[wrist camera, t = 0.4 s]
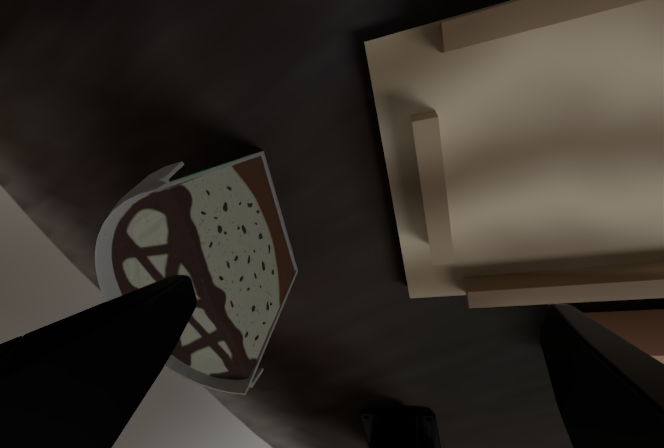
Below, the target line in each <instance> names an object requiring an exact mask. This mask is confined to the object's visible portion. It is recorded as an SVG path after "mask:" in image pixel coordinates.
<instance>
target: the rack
mask: <svg viewBox="0 0 664 448" xmlns="http://www.w3.org/2000/svg"><path fill="white" fill-rule="evenodd" d="M364 44H365V49H366V55H367V60H368V66H369V72H370V77H371V83H372V88H373V94H374V100H375V105H376V111H377V116H378V122H379V127H380V133H381V139H382V144H383V150H384V155H385V161H386V167H387V172H388V178H389V183H390V189H391V195H392V200H393V206H394V211H395V217H396V223H397V228H398V234H399V239H400V245H401V251H402V256H403V262H404V267H405V273H406V279H407V284H408V290H409V295H410V298H423V297H439V296H455V295H466V297H467V301H468V305H469V308H482V307H501V306H520V305H540V304H551V303H554V304H559V303H578V302H597V301H616V300H635V299H654V298H664V0H510V1H507V2H503V3H500V4H496V5H493V6H489V7H486V8H482V9H479V10H475V11H472V12H468V13H465V14H461V15H458V16H454V17H451V18H447V19H444V20H440V21H437V22H433V23H430V24H426V25H423V26H419V27H416V28H412V29H409V30H405V31H401V32H398V33H394V34H391V35H387V36H384V37H380V38H377V39H373V40H370V41H366V42H364Z"/></svg>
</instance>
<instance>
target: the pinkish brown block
mask: <svg viewBox="0 0 664 448" xmlns="http://www.w3.org/2000/svg"><path fill="white" fill-rule="evenodd" d="M584 314H586V315H587V316H589V317H590V318H592V319H593V320H595V321H597V322H598V323H600V324H601V325H603V326H605V327H606V328H608V329H609V330H611V331H612V332H614V333H616V334H617V335H619V336H620V337H622V338H624V339H625V340H627V341H628V342H630V343H631V344H633V345H635V346H636V347H638V348H639V349H641V350H642V351H644V352H646V353H647V354H649V355H650V356H652V357H654V358H655V359H657V360H658V361H660V362H661V363H663V364H664V309H657V310H635V311H613V312H591V313H584Z"/></svg>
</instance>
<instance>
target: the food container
mask: <svg viewBox="0 0 664 448" xmlns="http://www.w3.org/2000/svg"><path fill="white" fill-rule="evenodd" d="M183 165H184V163H183V162H178V163H175V164H171V165H168V166H165V167H163V168H161V169H159V170H157V171H155V172H153V173H151V174H150V175H148V176H147V177H146V178H145V179H144V180H142V181H141V182H140V183H139V184H138V185H137V186H135V187H134V188H133V189H132V190H131V191H129V192H128V193H127V194H126V195H125V196H124V197H122V198H121V199H120V200H119V201H118V203H117V204H116V205H115V207H114V208H113V209H112V211H111V212H110V214H109V216H108V218H107V219H106V220H105V222H104V223H103V225H102V228H101V230H100V232H99V235H98V238H97V243H96V248H95V268H96V274H97V279H98V283H99V286H100V289H101V292H102V295H103V297H104V299H105V301H106V302H107V301H109V300H112V299H114V298H117V297H119V296H122V295H124V294H127V293H129V292H132V291H134V290H137V289H139V288H142V287H144V286H147V285H149V284H152V283H154V282H157V281H159V280H162V279H164V278H167V277H169V276H172V275H176V274H177V275H187V276H189V277H190V278H191V280H192V283H193V287H194V291H195V294H196V298H197V305H196V308H195V310H194V312H193V314H192V316H191V318H190V320H189V322H188V324H187V326H186V328H185V330H184V332H183V333H182V335H181V337H180V339H179V341H178V343H177V345H176V347H175V349H174V351H173V352H172V354H171V356H170V358H169V359H168V361H167V363H166V364H165V366H164V367H166V368H167V369H169V370H170V371H172V372H174V373H176V374H178V375H179V376H181V377H183V378H185V379H187V380H190V381H192V382H194V383H196V384H199V385H201V386H205V387H208V388H211V389H214V390H218V391H222V392H227V393H233V394H242V395H246V393H247V391H248V389H249V387H250V388H252V387H253V385H254V384H255V382H256V381H257V379H258V378H259V376H260V375H261V373H262V372H263V368H259V367H258V366H259V363H260V361H261V359H262V356H263V354H264V351H265V349H266V347H267V344H268V342H269V339H270V337H271V335H272V332H273V330H274V327H275V325H276V323H277V320H278V318H279V316H280V313H281V311H282V308H283V306H284V304H285V301H286V299H287V296H288V294H289V292H290V289H291V287H292V284H293V282H294V280H295V277H296V275H297V272H298V269H297V266H296V262H295V259H294V256H293V252H292V249H291V245H290V242H289V238H288V235H287V231H286V228H285V224H284V221H283V217H282V214H281V210H280V207H279V203H278V200H277V196H276V193H275V189H274V186H273V182H272V179H271V175H270V172H269V168H268V165H267V161H266V158H265V154H264V151H261V152H258V153H254V154H250V155H247V156H244V157H241V158H238V159H235V160H232V161H229V162H226V163H223V164H220V165H217V166H214V167H211V168H208V169H205V170H202V171H199V172H196V173H193V174H190V175H187V176H184V177H181V178H178V179H175V180H172V181H169V180H168V179H170V178H171V177H172V176H173V175H174V174H175V173H176V172H177V171H178V170H179V169H180V168H181V167H182V166H183Z"/></svg>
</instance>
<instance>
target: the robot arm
mask: <svg viewBox="0 0 664 448" xmlns="http://www.w3.org/2000/svg"><path fill="white" fill-rule="evenodd" d="M196 305H197V298H196V294H195V291H194V287H193V283H192V280H191V278H190V277H189V276H187V275H177V274H176V275H172V276H169V277H167V278H164V279H162V280H159V281H157V282H154V283H152V284H149V285H147V286H144V287H142V288H139V289H137V290H134V291H132V292H129V293H127V294H124V295H122V296H119V297H117V298H114V299H112V300H109V301H107V302H104V303H102V304H99V305H97V306H95V307H92V308H89V309H87V310H85V311H82V312H80V313H77V314H75V315H72V316H70V317H67V318H65V319H62V320H59V321H57V322H54V323H52V324H50V325H48V326H45V327H42V328H40V329H37V330H35V331H32V332H30V333H27V334H25V335H24V336H23V337H22V336H20V337H17V338H14V339H12V340H10V341H7V342H5V343H2V344H0V448H111V447H112V446H113V445H114V443H115V442H116V440H117V438H118V437H119V435H120V434H121V432H122V431H123V429H124V428H125V426H126V425H127V423H128V421H129V420H130V418H131V417H132V415H133V414H134V412H135V411H136V409H137V408H138V406H139V404H140V403H141V401H142V400H143V398H144V397H145V395H146V394H147V392H148V390H149V389H150V387H151V386H152V384H153V383H154V381H155V379H156V378H157V377H158V375H159V373H160V372H161V370H162V368H163V367H164V366H165V364H166V363H167V361H168V359H169V358H170V356H171V354H172V352H173V351H174V349H175V347H176V345H177V343H178V341H179V339H180V337H181V335H182V333H183V332H184V330H185V328H186V326H187V324H188V322H189V320H190V318H191V316H192V314H193V312H194V310H195V308H196ZM540 342H541V346H542V350H543V354H544V357H545V361H546V365H547V369H548V372H549V376H550V380H551V384H552V387H553V391H554V395H555V398H556V402H557V405H558V408H559V411H560V414H561V417H562V419H563V422H564V425H565V427H566V430H567V432H568V435H569V437H570V440H571V442H572V445H573V447H574V448H664V364H663V363H661V362H660V361H658V360H657V359H655V358H654V357H652V356H650V355H649V354H647V353H646V352H644V351H642V350H641V349H639V348H638V347H636V346H635V345H633V344H631V343H630V342H628V341H627V340H625V339H624V338H622V337H620V336H619V335H617V334H616V333H614V332H612V331H611V330H609V329H608V328H606V327H605V326H603V325H601V324H600V323H598V322H597V321H595V320H593V319H592V318H590V317H589V316H587V315H586V314H584V313H582V312H581V311H579V310H578V309H576V308H575V307H573V306H571V305H567V304H554V303H551V304H549V305H548V306H547V308H546V311H545V315H544V319H543V323H542V327H541V330H540ZM361 419H362V422H363V425H364V429H365V432H366V436H367V439H368V442H369V448H441V446H440V440H439V434H438V429H437V423H436V417H435V414H434V413H433V412H429V411H400V410H367V409H366V410H362V412H361Z"/></svg>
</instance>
